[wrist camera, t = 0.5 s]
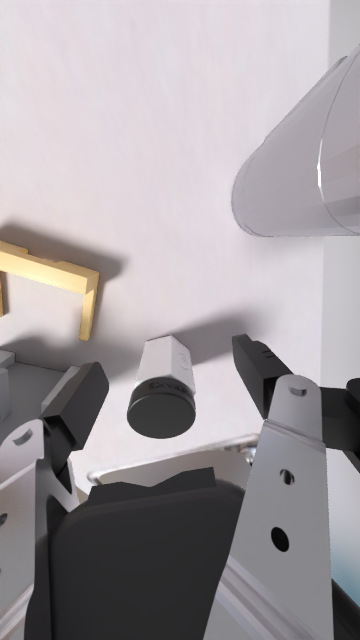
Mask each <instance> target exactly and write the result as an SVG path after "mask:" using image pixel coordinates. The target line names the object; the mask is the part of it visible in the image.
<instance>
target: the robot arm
mask: <svg viewBox="0 0 360 640" xmlns="http://www.w3.org/2000/svg"><path fill="white" fill-rule="evenodd" d="M232 209H233V214H234V216H235V219H236V221H237V223H238V224H239V226H240V227H241V228H242V229H243V230H244V231H246V232H247V233H249V234H251V235H255V236H262V237H274V236H348V235H349V236H351V235H352V236H357V235H360V44H359V45H358V47H357V48H356V49H355V50H354V51H353V52H352V53H351V54H350V55H349V56H345V57H343V58H341V59H340V60H338V61H337V62H336V63H335V64H334V65H333V66H332V68H331V69H330V70H329V71H328V72H327V73H326V74H325V75H324V76H323V77H322V78H321V79H320V80H319V81H318V82H317V84H316V85H315V86H314V87H313V88H312V89H311V90H310V91H309V92H308V93H307V94H306V95H305V96H304V97H303V98H302V100H301V101H300V102H299V103H298V104H297V105H296V106H295V107H294V108H293V109H292V110H291V111H290V112H289V113H288V114H287V115H286V117H285V118H284V119H283V120H282V121H281V122H280V123H279V124H278V125H277V126H276V127H275V128H274V129H273V130H272V131H271V133H270V134H269V135H268V136H267V137H266V139H265V141H264V143H263V144H262V145H261V146H260V147H259V148H258V149H257V150H256V151H255V152H254V153H253V154H252V155H251V156H250V157H249V159H248V160H247V161H246V162H245V163H244V164H243V166H242V168H241V169H240V171H239V173H238V175H237V177H236V180H235V182H234V186H233V191H232ZM232 345H233V357H234V363H235V366H236V369H237V371H238V373H239V375H240V376H241V378H242V380H243V382H244V384H245V386H246V388H247V390H248V391H249V393H250V395H251V397H252V399H253V401H254V403H255V405H256V407H257V408H258V410H259V412H260V414H261V416H262V418H263V420H265V419H267V421H266V420H265V421H264V423H263V426H262V430H261V434H260V438H259V441H258V445H257V449H256V453H255V457H254V461H253V465H252V468H251V472H250V477H249V480H248V484H247V488H246V490H244V489H243V488H241V487H240V486H238V485H236V484H234V483H232V482H230V481H227V480H224V479H220V478H215V475H214V470H213V467H209V468H203V469H196V470H191V471H185V472H181V473H179V474H177V475H175V476H173V477H171V478H169V479H167V480H165V481H163V482H161V483H159V484H157V485H155V486H152V487H145V486H141V485H136V484H130V483H125V482H116V483H111V484H104V485H97V486H92V488H91V491H90V494H89V497H88V500H87V501H85V502H83V503H82V504H80V503H79V500H78V496H77V491H76V485H75V480H74V474H73V469H72V464H71V460H70V459H69V455H70V453H71V451H77V450H83V448H84V445H85V443H86V441H87V439H88V436H89V434H90V432H91V430H92V427H93V425H94V423H95V421H96V418H97V416H98V414H99V412H100V409H101V407H102V405H103V403H104V400H105V398H106V396H107V394H108V391H109V382H108V380H107V378H106V375H105V373H104V371H103V369H102V367H101V364H100V363H99V362H92V363H87V364H84V365H82V367H81V368H80V369H79V371H78V372H77V373H76V374H75V375H74V376H73V377H72V378H70V379H69V380H68V381H67V382H66V383H65V385H64V386H63V387H62V390H60V391H59V392H58V394H57V396H55V397H54V399H53V400H52V401H51V402H50V404H49V405H48V406H47V408H46V409H45V410H44V411H43V413H42V414H41V415H40V416H39V418H38V419H36V420H32V421H29V422H27V423H25V424H23V425H21V426H20V427H18V428H17V429H16V430H14V431H13V432H12V433H11V434H10V435H9V436H8V437H7V438H6V439H5V440H4V441H3V443H2V445H0V640H360V607H359V606H358V605H357V604H356V603H355V602H354V601H353V600H352V599H351V598H350V597H349V596H348V595H347V594H346V593H345V592H344V591H343V590H342V588H341V587H340V586H339V585H338V584H337V583H336V582H335V581H334V580H333V579H332V578H331V561H330V537H329V514H328V513H329V512H328V488H327V463H326V448H331V449H337V450H342V451H343V452H344V454H345V455H346V456H347V458H348V459H349V460H350V461H351V463H352V464H353V465H354V467H355V468H356V469H357V470H358V472H359V473H360V378H355V379H351V380H349V381H348V383H347V385H346V389H340V388H325V387H318V385H317V384H316V383H314V382H313V381H312V380H310V379H308V378H306V377H303V376H300V375H294V374H293V373H292V372H291V370H290V369H289V368H288V367H287V366H286V365H285V364H284V363H283V362H282V361H281V360H280V359H279V358H278V357H277V356H276V355H275V354H274V353H273V352H271V350H270V349H269V348H268V347H267V346H266V345H265V344H263V343H261V342H259V341H252V340H251V339H250V338H249V337H248V336H247V334H242V335H237V336H233V337H232Z"/></svg>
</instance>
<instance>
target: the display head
mask: <svg viewBox="0 0 360 640" xmlns="http://www.w3.org/2000/svg"><path fill="white" fill-rule="evenodd" d="M80 368H81V367H77V366H72V365H71V367H70V368H69V369H68V370H67V372H61V371H56V370H51V369H47V368H42V367H37V366H33V365H28V364H23V363H18V362H15V353H13V352H8V351H4V350H0V445H2V443H3V441H4V440H5V439H6V438H7V437H8V436H9V435H10V434H11V433H12V432H13V431H14V430H16V429H17V428H18V427H20V426H21V425H23V424H25V423H27V422H29V421H32V420H36V419H38V418H39V416H40V415H41V414H42V413H43V411H44V410H45V409H46V408H47V406H48V405H49V404H50V402H51V401H52V400H53V399H54V397H55V396H57V394H58V392H59V391H60V390H62V387H63V386H64V385H65V383H66V382H67V381H68V380H69V379H70V378H72V377H73V376H74V375H75V374H76V373H77V372H78V371H79V369H80Z"/></svg>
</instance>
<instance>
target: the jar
mask: <svg viewBox="0 0 360 640" xmlns="http://www.w3.org/2000/svg"><path fill="white" fill-rule="evenodd" d="M195 393H196V389H195V383H194V377H193V370H192V364H191V357H190V351H189V350H188V349H187V348H186V347H185V346H184V345H182V344H181V343H180V342H179V341H178V340H176V339H175V338H174V337H173V336H172V335H170V336H166V337H162V338H158V339H154V340H150V341H146V342H145V346H144V350H143V354H142V358H141V362H140V366H139V370H138V374H137V378H136V382H135V386H134V391H133V392H132V395H131V399H130V403H129V407H128V411H127V420H128V423H129V425H130V426H131V428H132V429H133V430H135V431H136V432H137V433H139V434H141V435H143V436H146V437H150V438H156V439H166V438H172V437H175V436H178V435H181V434H183V433H184V432H186V431H187V430H188V429H189V428H190V427H191V426H192V425H193V423H194V421H195V417H196V412H195V409H196V408H195V401H194V395H195Z"/></svg>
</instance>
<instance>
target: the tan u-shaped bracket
mask: <svg viewBox="0 0 360 640" xmlns="http://www.w3.org/2000/svg"><path fill="white" fill-rule="evenodd" d="M0 270H1V271H5V272H8V273H12V274H15V275H18V276H22V277H25V278H29V279H32V280H36V281H39V282H42V283H46V284H49V285H53V286H56V287H60V288H63V289H66V290H70V291H73V292H77V293H80V294H84V302H83V310H82V318H81V327H80V335H79V339H80V340H84V341H87V340H88V339H89V338H90V334H91V327H92V321H93V314H94V307H95V301H96V294H97V287H98V281H99V274H100V272H97V271H94V270H91V269H88V268H85V267H82V266H79V265H76V264H72V263H69V262H66V261H60V262H55V263H54V262H51V261H48V260H45V259H42V258H38V257H35V256H32V255H29V254H28V249H25V248H22V247H19V246H16V245H13V244H10V243H6V242H3V241H0ZM2 316H4V314H3V303H2V291H1V279H0V317H2Z"/></svg>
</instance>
